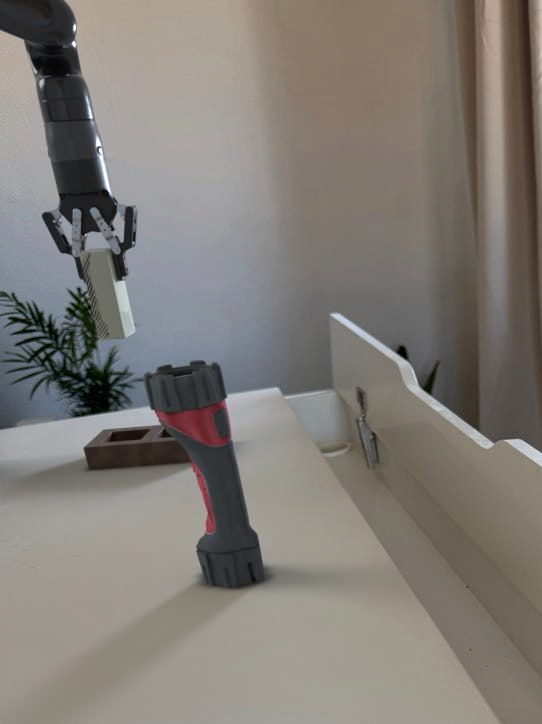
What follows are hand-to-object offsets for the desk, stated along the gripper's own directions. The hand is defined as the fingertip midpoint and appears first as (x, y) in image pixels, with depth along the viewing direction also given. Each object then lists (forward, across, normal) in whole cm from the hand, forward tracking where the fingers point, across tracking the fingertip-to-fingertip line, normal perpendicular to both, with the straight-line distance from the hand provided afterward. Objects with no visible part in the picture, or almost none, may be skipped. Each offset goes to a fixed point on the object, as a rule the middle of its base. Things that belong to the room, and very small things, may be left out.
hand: (105, 280), depth 149 cm
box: (+9, 0, 0) cm, 9 cm away
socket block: (+25, -6, +12) cm, 28 cm away
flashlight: (+25, -25, +62) cm, 71 cm away
